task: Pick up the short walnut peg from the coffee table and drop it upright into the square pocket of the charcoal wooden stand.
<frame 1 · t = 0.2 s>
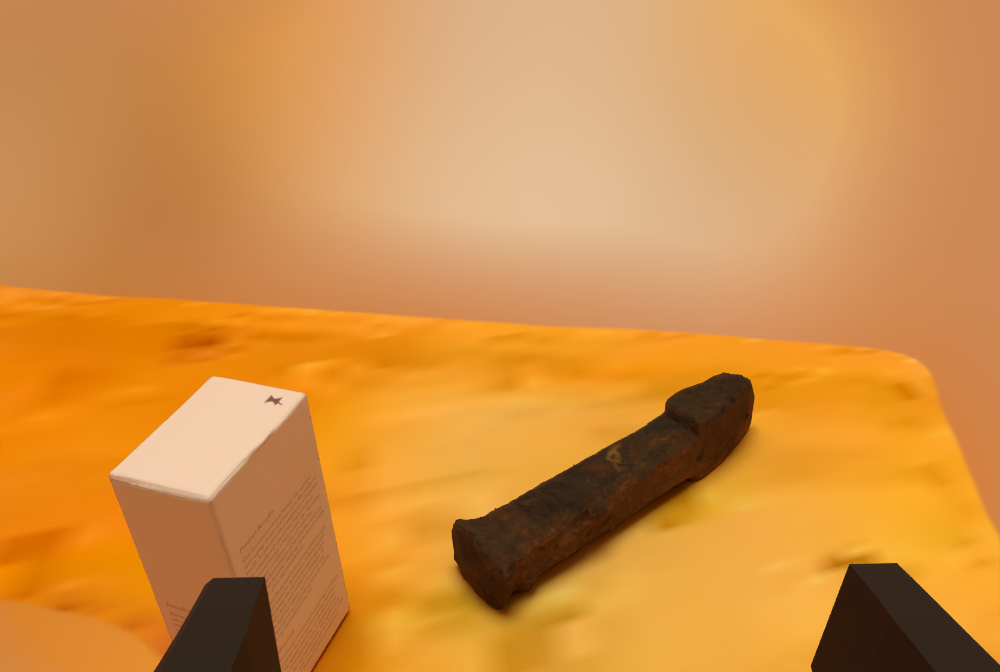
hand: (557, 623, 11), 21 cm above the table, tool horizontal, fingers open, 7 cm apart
hand tool: (617, 503, 43), on the table
skincare box: (274, 655, 36), on the table
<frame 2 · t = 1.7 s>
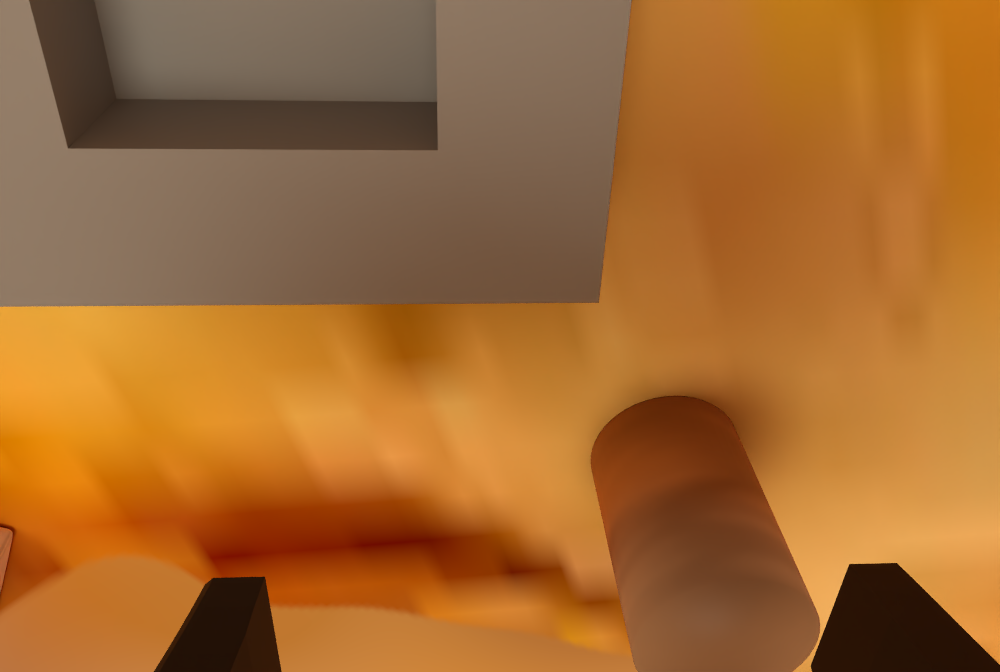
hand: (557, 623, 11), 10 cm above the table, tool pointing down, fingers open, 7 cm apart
walnut peg: (664, 454, 23), on the table
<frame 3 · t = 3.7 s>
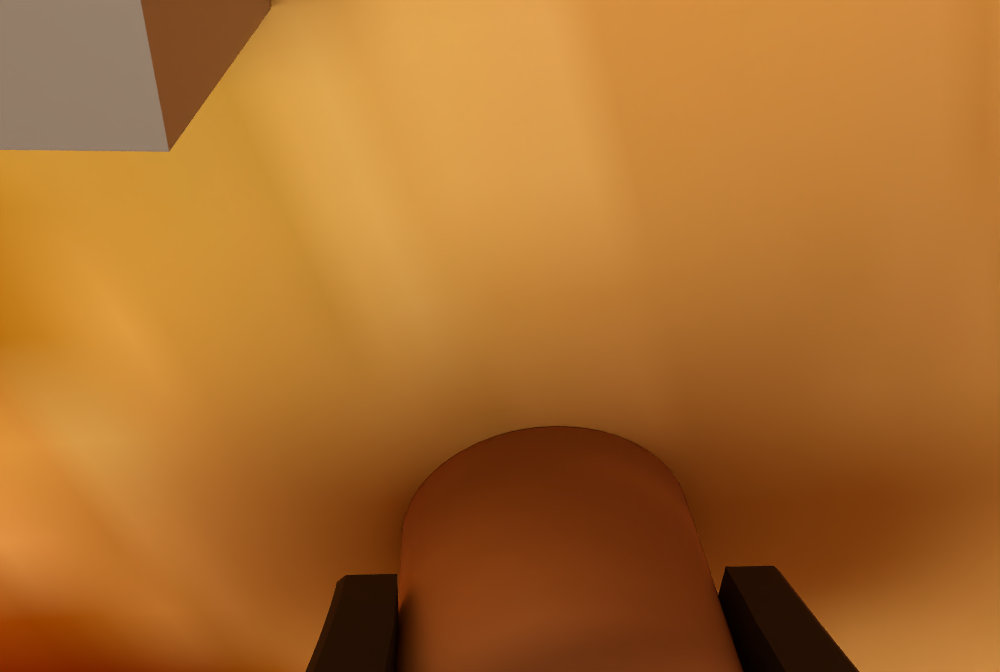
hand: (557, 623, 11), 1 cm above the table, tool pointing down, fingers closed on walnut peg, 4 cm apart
walnut peg: (545, 537, 12), on the table, touching gripper
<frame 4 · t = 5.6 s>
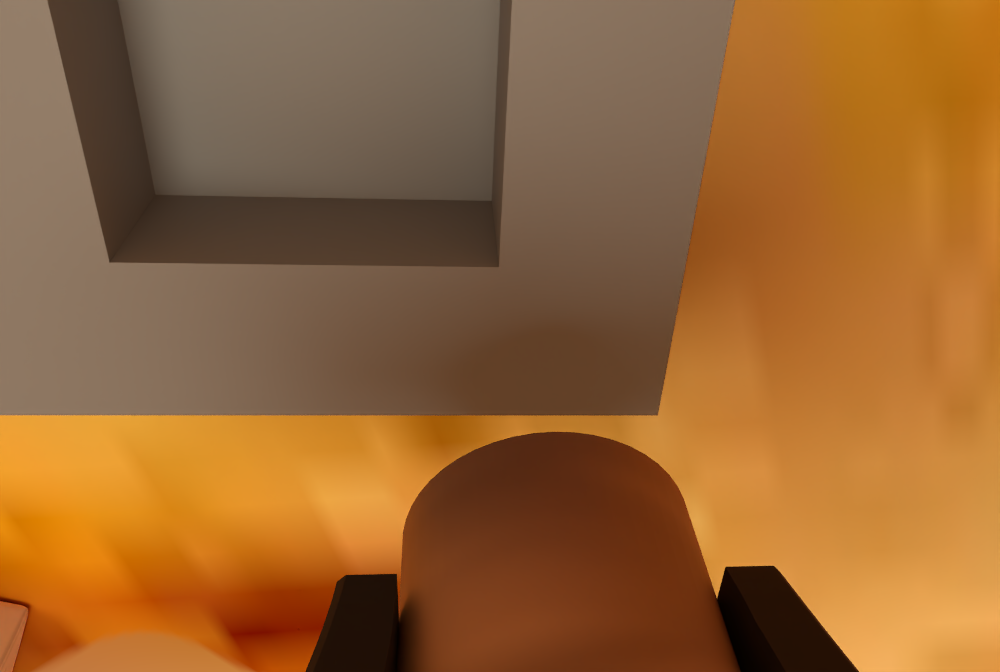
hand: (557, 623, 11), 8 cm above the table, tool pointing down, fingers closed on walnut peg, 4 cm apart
socket stand: (320, 11, 15), on the table
walnut peg: (546, 541, 12), point 7 cm above the table, touching gripper
when the fingers open (4 cm above the table, at t = 7.5 s): walnut peg drops 2 cm, resting on socket stand.
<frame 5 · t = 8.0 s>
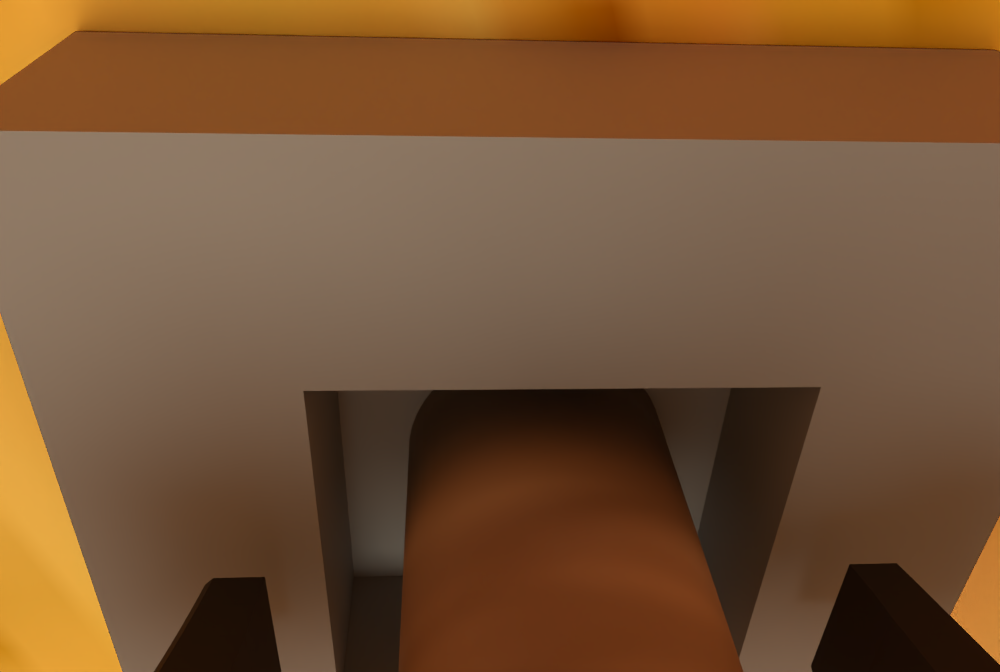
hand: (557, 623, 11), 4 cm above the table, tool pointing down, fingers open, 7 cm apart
socket stand: (527, 405, 14), on the table
walnut peg: (535, 448, 14), point 1 cm above the table, touching socket stand
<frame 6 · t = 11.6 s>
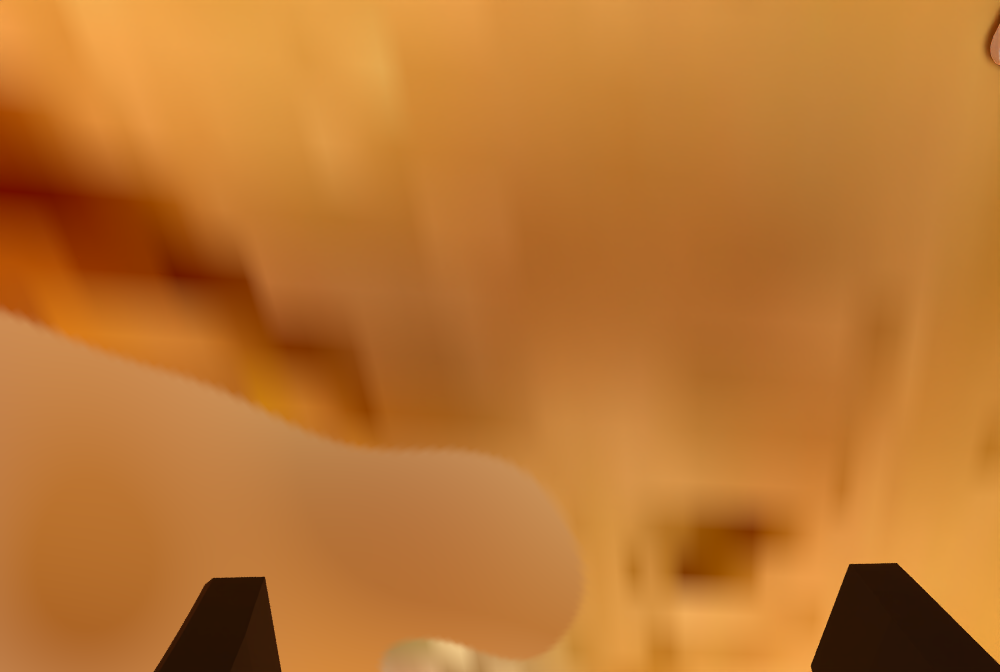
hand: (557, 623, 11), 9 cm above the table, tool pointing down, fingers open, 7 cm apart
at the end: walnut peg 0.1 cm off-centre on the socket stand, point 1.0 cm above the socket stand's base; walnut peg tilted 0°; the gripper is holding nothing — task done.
